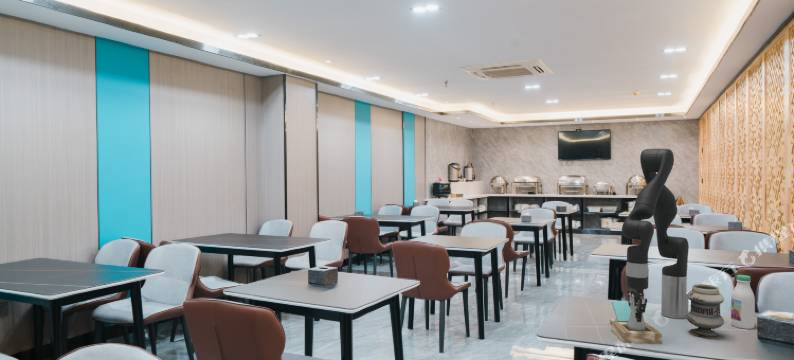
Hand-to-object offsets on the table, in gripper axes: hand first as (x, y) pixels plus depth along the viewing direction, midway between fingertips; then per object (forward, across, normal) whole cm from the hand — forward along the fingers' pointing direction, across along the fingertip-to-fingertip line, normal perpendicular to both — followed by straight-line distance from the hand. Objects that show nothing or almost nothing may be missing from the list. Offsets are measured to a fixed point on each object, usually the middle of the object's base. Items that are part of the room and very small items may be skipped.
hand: (636, 321), depth 191 cm
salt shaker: (+4, 0, 0) cm, 4 cm away
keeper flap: (0, +11, 0) cm, 11 cm away
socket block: (+6, +4, 0) cm, 7 cm away
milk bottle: (+6, +17, -47) cm, 50 cm away
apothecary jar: (+6, +6, -27) cm, 28 cm away
